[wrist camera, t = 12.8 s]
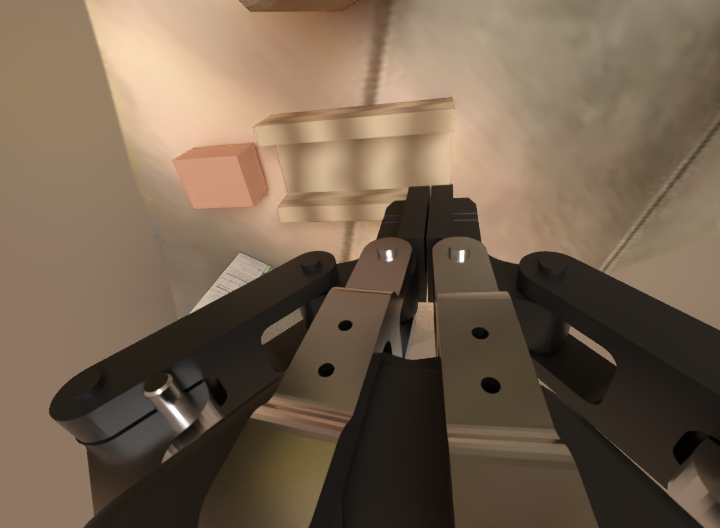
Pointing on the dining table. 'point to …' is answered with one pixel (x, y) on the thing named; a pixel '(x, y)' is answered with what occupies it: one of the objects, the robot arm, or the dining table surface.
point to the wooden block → (296, 5)
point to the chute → (358, 157)
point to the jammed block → (222, 176)
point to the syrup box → (234, 278)
